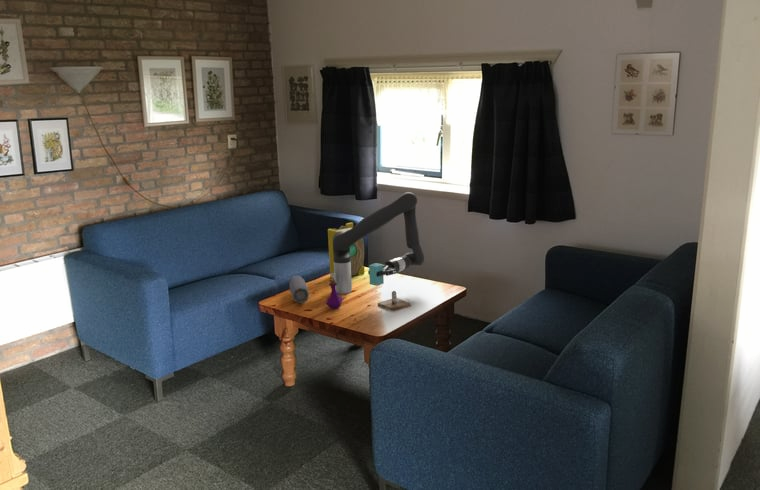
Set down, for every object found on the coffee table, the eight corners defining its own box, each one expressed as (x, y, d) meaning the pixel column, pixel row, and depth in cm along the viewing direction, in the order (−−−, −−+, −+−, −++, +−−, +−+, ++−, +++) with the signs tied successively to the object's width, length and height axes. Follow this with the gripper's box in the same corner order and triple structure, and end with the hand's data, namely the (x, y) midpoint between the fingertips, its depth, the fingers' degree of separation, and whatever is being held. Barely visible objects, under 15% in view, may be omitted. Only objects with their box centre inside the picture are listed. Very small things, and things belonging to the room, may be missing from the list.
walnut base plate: (377, 305, 336) (377, 290, 335) (396, 300, 344) (395, 285, 342) (392, 311, 327) (392, 296, 325) (410, 305, 334) (410, 291, 332)
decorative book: (339, 280, 379) (337, 230, 372) (328, 276, 388) (325, 227, 380) (366, 273, 392) (364, 224, 385) (354, 269, 400) (352, 221, 393)
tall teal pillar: (369, 284, 333) (369, 265, 331) (376, 281, 337) (375, 263, 334) (377, 285, 330) (376, 266, 327) (383, 283, 333) (383, 264, 331)
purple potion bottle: (339, 310, 332) (338, 276, 327) (325, 309, 333) (323, 275, 329) (343, 305, 339) (342, 271, 334) (329, 304, 340) (328, 271, 336)
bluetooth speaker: (310, 304, 341) (309, 286, 339) (292, 306, 340) (291, 287, 337) (306, 291, 363) (305, 274, 360) (289, 292, 361) (288, 275, 359)
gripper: (384, 256, 346) (362, 264, 334) (405, 261, 336) (383, 269, 324) (384, 270, 348) (362, 278, 335) (405, 275, 338) (383, 283, 326)
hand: (372, 273), depth 330 cm, fingers closed on tall teal pillar, 5 cm apart
